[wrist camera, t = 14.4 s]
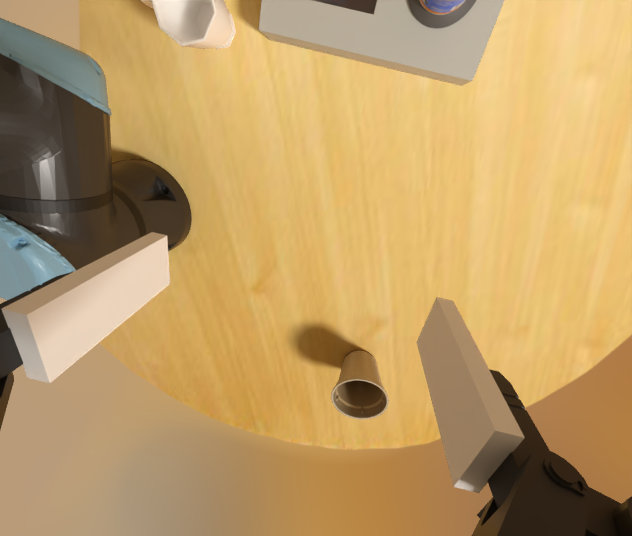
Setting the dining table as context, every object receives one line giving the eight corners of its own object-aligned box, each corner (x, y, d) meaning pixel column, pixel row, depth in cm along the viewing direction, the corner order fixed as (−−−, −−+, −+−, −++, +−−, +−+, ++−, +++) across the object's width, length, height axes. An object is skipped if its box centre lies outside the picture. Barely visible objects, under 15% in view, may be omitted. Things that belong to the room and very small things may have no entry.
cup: (242, 68, 38) (213, 54, 30) (169, 48, 38) (123, 29, 31) (249, -1, 34) (219, -35, 27) (169, -23, 35) (118, -62, 27)
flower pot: (394, 372, 56) (398, 411, 48) (350, 386, 59) (348, 425, 51) (371, 336, 53) (372, 372, 45) (326, 353, 56) (320, 388, 48)
